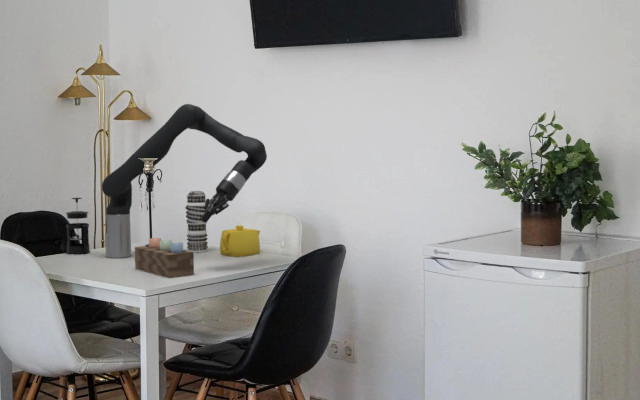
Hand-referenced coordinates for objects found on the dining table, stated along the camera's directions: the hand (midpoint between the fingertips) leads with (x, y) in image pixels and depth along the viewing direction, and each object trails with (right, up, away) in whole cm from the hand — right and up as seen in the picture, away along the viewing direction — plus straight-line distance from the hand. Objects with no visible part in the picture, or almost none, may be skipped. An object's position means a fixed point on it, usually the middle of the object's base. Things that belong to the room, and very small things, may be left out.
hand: (203, 221), depth 308 cm
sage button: (-13, -13, +1) cm, 19 cm away
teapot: (+10, -15, +41) cm, 45 cm away
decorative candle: (-9, -14, +49) cm, 52 cm away
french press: (-58, -15, +46) cm, 75 cm away
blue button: (-8, -13, -6) cm, 17 cm away
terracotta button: (-18, -12, +7) cm, 23 cm away
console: (-14, -18, 0) cm, 23 cm away
